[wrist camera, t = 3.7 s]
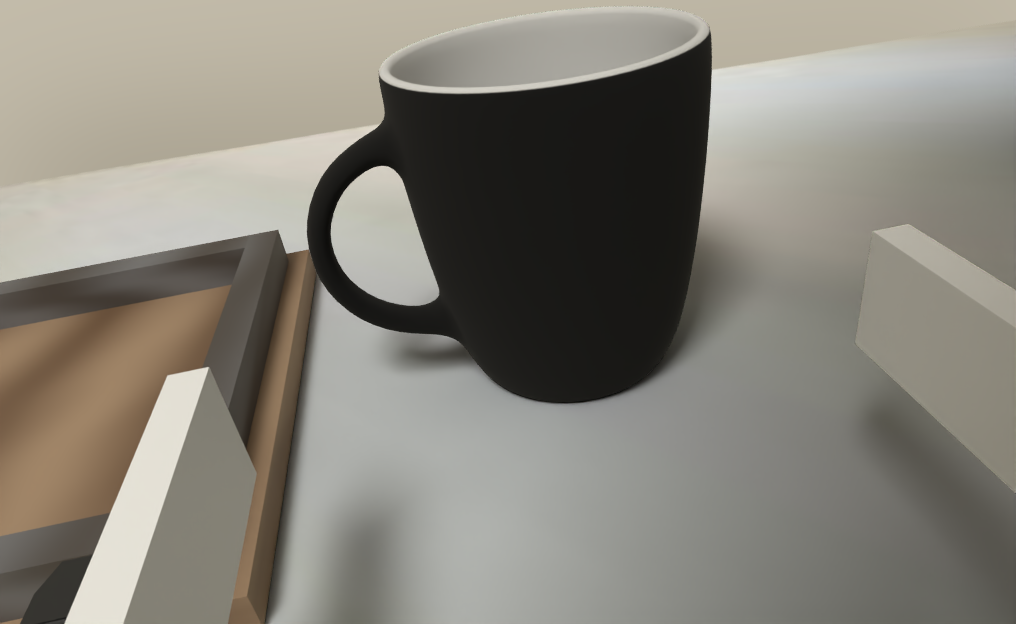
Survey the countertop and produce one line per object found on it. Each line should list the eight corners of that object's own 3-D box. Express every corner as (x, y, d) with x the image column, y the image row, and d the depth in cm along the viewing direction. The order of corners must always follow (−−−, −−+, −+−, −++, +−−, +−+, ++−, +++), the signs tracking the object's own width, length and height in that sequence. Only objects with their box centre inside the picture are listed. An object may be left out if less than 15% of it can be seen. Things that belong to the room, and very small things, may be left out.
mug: (643, 260, 29) (633, -7, 23) (759, 390, 21) (783, 38, 16) (351, 329, 27) (269, 60, 22) (363, 495, 20) (244, 145, 14)
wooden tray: (316, 273, 32) (298, 218, 30) (264, 628, 16) (223, 552, 15) (-99, 354, 30) (-138, 301, 29) (-571, 818, 15) (-701, 755, 14)
